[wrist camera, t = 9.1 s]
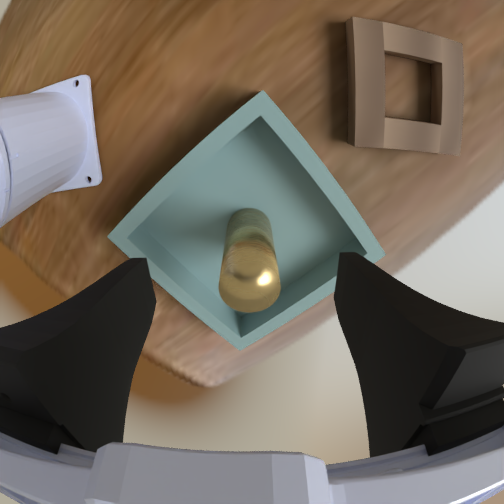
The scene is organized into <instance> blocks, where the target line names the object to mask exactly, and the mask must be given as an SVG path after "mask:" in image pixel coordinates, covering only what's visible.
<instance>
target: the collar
mask: <svg viewBox="0 0 504 504" xmlns="http://www.w3.org/2000/svg"><path fill="white" fill-rule="evenodd" d="M345 25H346V42H347V67H348V141H347V143H349V144H351V145H353V146H355V147H373V148H389V149H402V150H413V151H423V152H432V153H441V154H449V155H457V156H460V149H461V139H462V125H463V103H464V67H463V46H462V43H459V42H456V41H453V40H450V39H447V38H444V37H441V36H437V35H434V34H431V33H427V32H424V31H420V30H416V29H412V28H408V27H404V26H400V25H395V24H391V23H386V22H381V21H376V20H370V19H364V18H358V17H351V18H350V19H348V20H347V21H346V22H345ZM385 54H388V55H393V56H399V57H404V58H409V59H413V60H418V61H422V62H426V63H430V64H431V116H430V122H424V121H417V120H410V119H402V118H393V117H385Z"/></svg>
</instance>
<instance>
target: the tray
mask: <svg viewBox="0 0 504 504" xmlns="http://www.w3.org/2000/svg"><path fill="white" fill-rule="evenodd" d="M245 208H254V209H257V210H260V211H262V212H263V213H264V214H265V215H266V216H267V217H268V218H269V220H270V223H271V228H272V234H273V240H274V246H275V252H276V259H277V265H278V271H279V278H280V284H281V290H280V294H279V296H278V298H277V300H276V301H275V302H274V303H273V304H272V305H271V306H270V307H268V308H266V309H264V310H262V311H258V312H252V313H247V312H241V311H237V310H235V309H233V308H231V307H229V306H228V305H227V304H226V303H225V302H224V301H223V300H222V298H221V296H220V294H219V289H218V286H219V278H220V271H221V264H222V257H223V250H224V244H225V237H226V230H227V224H228V221H229V219H230V217H231V216H232V215H233V214H234V213H235V212H237V211H239V210H241V209H245ZM107 237H108V238H109V239H110V240H111V241H112V242H113V243H114V244H115V245H116V246H118V247H119V248H120V249H121V250H122V251H123V252H124V253H125V254H126V255H127V256H128V257H129V258H130V259H131V258H147V262H148V267H149V271H150V276H151V278H152V279H154V280H155V281H156V282H157V283H158V284H159V285H160V286H161V287H163V288H164V289H165V290H166V291H167V292H168V293H170V294H171V295H172V296H173V297H174V298H175V299H177V300H178V301H179V302H180V303H181V304H182V305H184V306H185V307H186V308H187V309H188V310H190V311H191V312H192V313H193V314H194V315H196V316H197V317H198V318H199V319H201V320H202V321H203V322H204V323H205V324H207V325H208V326H209V327H210V328H212V329H213V330H214V331H215V332H217V333H218V334H219V335H220V336H222V337H223V338H224V339H225V340H227V341H228V342H229V343H231V344H232V345H233V346H234V347H236V348H237V349H238V350H242V349H244V348H246V347H247V346H249V345H251V344H252V343H254V342H256V341H257V340H259V339H261V338H262V337H264V336H265V335H267V334H269V333H270V332H272V331H274V330H275V329H277V328H278V327H280V326H282V325H283V324H285V323H286V322H288V321H290V320H291V319H293V318H294V317H296V316H297V315H299V314H301V313H302V312H304V311H305V310H307V309H308V308H310V307H311V306H313V305H314V304H316V303H317V302H319V301H320V300H322V299H323V298H325V297H326V296H328V295H329V294H331V293H332V292H334V291H335V285H336V278H337V270H338V262H339V253H340V252H356V253H358V254H360V255H361V256H363V257H364V258H366V259H367V260H369V261H370V262H372V263H373V264H374V263H375V262H377V261H378V260H379V259H381V258H382V257H383V256H385V255H386V254H385V252H384V251H383V249H382V248H381V246H380V244H379V243H378V241H377V240H376V238H375V237H374V235H373V234H372V232H371V230H370V229H369V227H368V226H367V224H366V223H365V221H364V220H363V218H362V217H361V215H360V214H359V213H358V211H357V210H356V208H355V207H354V205H353V204H352V202H351V201H350V199H349V198H348V197H347V195H346V194H345V192H344V191H343V190H342V188H341V187H340V185H339V184H338V183H337V181H336V180H335V179H334V177H333V176H332V174H331V173H330V172H329V170H328V169H327V168H326V166H325V165H324V164H323V162H322V161H321V160H320V159H319V157H318V156H317V155H316V153H315V152H314V151H313V149H312V148H311V147H310V146H309V144H308V143H307V142H306V141H305V139H304V138H303V137H302V136H301V134H300V133H299V132H298V131H297V129H296V128H295V127H294V126H293V125H292V123H291V122H290V121H289V120H288V119H287V117H286V116H285V115H284V114H283V113H282V111H281V110H280V109H279V108H278V107H277V106H276V104H275V103H274V102H273V101H272V100H271V99H270V98H269V96H268V95H267V94H266V93H265V92H264V91H263V90H262V91H260V92H259V93H258V94H256V95H255V96H254V97H253V98H251V99H250V100H249V101H248V102H246V103H245V104H244V105H243V106H241V107H240V108H239V109H238V110H236V111H235V112H234V113H233V114H232V115H230V116H229V117H228V118H227V119H226V120H225V121H223V122H222V123H221V124H220V125H219V126H218V127H216V128H215V129H214V130H213V131H212V132H211V133H210V134H208V135H207V136H206V137H205V138H204V139H203V140H202V141H201V142H200V143H198V144H197V145H196V146H195V147H194V148H193V149H192V150H191V151H190V152H189V153H187V154H186V155H185V156H184V157H183V158H182V159H181V160H180V161H179V162H178V163H177V164H176V165H175V166H174V167H173V168H172V169H171V170H170V171H169V172H168V173H167V174H165V175H164V176H163V177H162V178H161V179H160V180H159V181H158V182H157V183H156V184H155V185H154V186H153V187H152V188H151V189H150V190H149V192H148V193H147V194H146V195H145V196H144V197H143V198H142V199H141V200H140V201H139V202H138V203H137V204H136V205H135V206H134V207H133V208H132V209H131V210H130V211H129V212H128V214H127V215H126V216H125V217H124V218H123V219H122V220H121V221H120V222H119V224H118V225H117V226H116V227H115V228H114V229H113V230H112V232H111V233H110V234H109V235H108V236H107Z"/></svg>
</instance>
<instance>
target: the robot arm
mask: <svg viewBox="0 0 504 504" xmlns="http://www.w3.org/2000/svg"><path fill="white" fill-rule="evenodd" d="M77 80H78V81H79V85H78V86H76V81H77ZM88 176H89V177H91V179H92V180H91V182H90V181H88ZM101 181H102V172H101V166H100V160H99V153H98V147H97V139H96V132H95V123H94V115H93V105H92V93H91V80H90V77H89V76H88V75H80V76H77V77H74V78H70V79H67V80H64V81H61V82H58V83H56V84H53V85H50V86H47V87H45V88H42V89H39V90H37V91H34V92H32V93H29V94H24V95H16V96H10V97H3V98H0V228H1V227H2V226H3V225H5V224H6V223H7V222H9V221H10V220H12V219H13V218H14V217H16V216H17V215H18V214H20V213H21V212H23V211H24V210H26V209H27V208H28V207H30V206H31V205H33V204H34V203H36V202H37V201H39V200H40V199H42V198H43V197H45V196H46V195H48V194H49V193H53V192H58V191H64V190H70V189H76V188H83V187H89V186H96V185H98V184H100V183H101ZM334 301H335V306H336V311H337V315H338V319H339V322H340V325H341V327H342V330H343V333H344V336H345V338H346V341H347V344H348V347H349V349H350V352H351V355H352V358H353V360H354V363H355V366H356V370H357V373H358V377H359V382H360V387H361V392H362V396H363V403H364V409H365V415H366V422H367V430H368V438H369V450H370V458H366V459H360V460H355V461H349V462H343V463H336V464H329V465H325V463H324V461H323V460H321V459H319V458H317V457H314V456H310V455H307V454H304V453H301V452H282V451H252V452H251V451H250V452H234V451H231V452H230V451H204V450H188V449H176V448H167V447H157V446H150V445H143V444H137V443H123V434H124V425H125V416H126V409H127V403H128V397H129V392H130V387H131V382H132V378H133V374H134V371H135V367H136V365H137V362H138V359H139V356H140V354H141V351H142V348H143V345H144V343H145V340H146V337H147V335H148V332H149V329H150V326H151V324H152V320H153V315H154V311H155V306H156V298H155V293H154V289H153V285H152V280H151V276H150V271H149V267H148V262H147V258H131V259H129V260H127V261H125V262H124V263H122V264H121V265H119V266H118V267H116V268H115V269H113V270H112V271H110V272H109V273H108V274H106V275H105V276H103V277H102V278H100V279H99V280H98V281H96V282H95V283H93V284H92V285H90V286H89V287H87V288H86V289H84V290H82V291H81V292H79V293H78V294H76V295H75V296H73V297H71V298H70V299H68V300H66V301H64V302H63V303H61V304H59V305H57V306H55V307H53V308H51V309H49V310H47V311H45V312H42V313H40V314H38V315H36V316H34V317H31V318H29V319H26V320H23V321H21V322H18V323H15V324H12V325H8V326H5V327H2V328H0V492H1V493H3V494H4V495H6V496H8V497H10V498H11V499H13V500H15V501H17V502H19V503H20V504H479V503H481V502H483V501H485V500H486V499H488V498H490V497H492V496H493V495H495V494H497V493H498V492H500V491H502V490H504V401H503V399H502V398H504V388H503V386H502V385H503V384H504V323H503V322H498V321H493V320H489V319H484V318H480V317H477V316H474V315H470V314H467V313H464V312H461V311H458V310H456V309H453V308H451V307H448V306H446V305H443V304H441V303H439V302H437V301H434V300H432V299H430V298H428V297H426V296H424V295H422V294H420V293H419V292H417V291H415V290H413V289H411V288H410V287H408V286H407V285H405V284H403V283H402V282H400V281H398V280H397V279H395V278H394V277H392V276H391V275H389V274H388V273H386V272H385V271H383V270H382V269H380V268H379V267H378V266H376V265H375V264H373V263H372V262H370V261H369V260H367V259H366V258H364V257H363V256H361V255H360V254H358V253H356V252H340V253H339V262H338V270H337V278H336V285H335V292H334Z"/></svg>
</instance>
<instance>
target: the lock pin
mask: <svg viewBox="0 0 504 504" xmlns="http://www.w3.org/2000/svg"><path fill="white" fill-rule="evenodd" d="M218 289H219V294H220V296H221V298H222V300H223V301H224V302H225V303H226V304H227V305H228V306H229V307H231V308H233V309H235V310H237V311H241V312H247V313H252V312H258V311H262V310H264V309H266V308H268V307H270V306H271V305H272V304H273V303H274V302H275V301H276V300H277V298H278V296H279V294H280V290H281V284H280V278H279V271H278V265H277V259H276V252H275V246H274V240H273V234H272V228H271V223H270V220H269V218H268V217H267V216H266V215H265V214H264V213H263V212H262V211H260V210H257V209H254V208H245V209H241V210H239V211H237V212H235V213H234V214H233V215H232V216H231V217H230V219H229V221H228V224H227V230H226V237H225V244H224V250H223V257H222V264H221V271H220V278H219V286H218Z"/></svg>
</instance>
